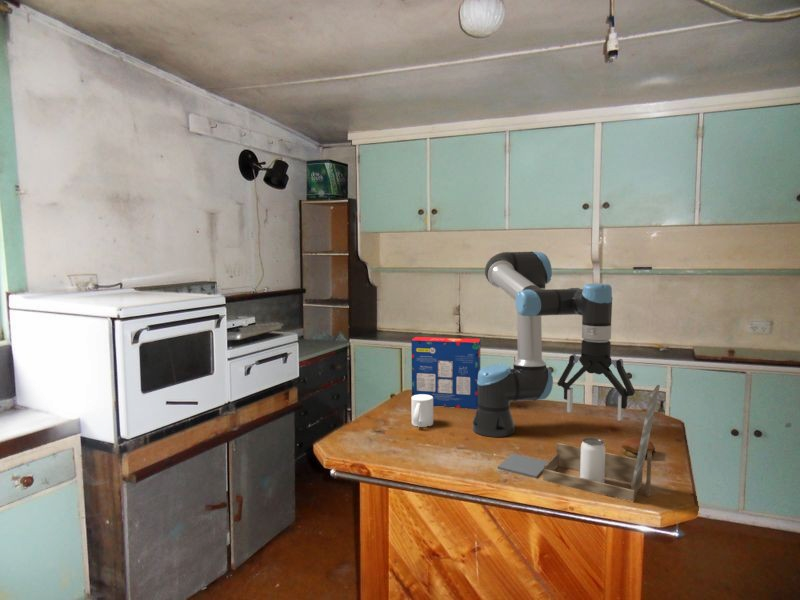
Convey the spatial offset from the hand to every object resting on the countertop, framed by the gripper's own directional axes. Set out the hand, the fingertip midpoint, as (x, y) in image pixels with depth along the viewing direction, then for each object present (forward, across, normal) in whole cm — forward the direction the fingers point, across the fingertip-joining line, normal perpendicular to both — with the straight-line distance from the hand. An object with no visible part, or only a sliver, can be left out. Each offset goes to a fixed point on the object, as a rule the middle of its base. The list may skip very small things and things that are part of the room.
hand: (594, 415), depth 145 cm
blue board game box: (+19, -71, +42) cm, 85 cm away
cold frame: (+20, +2, 0) cm, 20 cm away
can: (+20, 0, 0) cm, 20 cm away
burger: (+20, +7, +29) cm, 36 cm away
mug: (+19, -66, +14) cm, 70 cm away
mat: (+19, -20, 0) cm, 28 cm away
